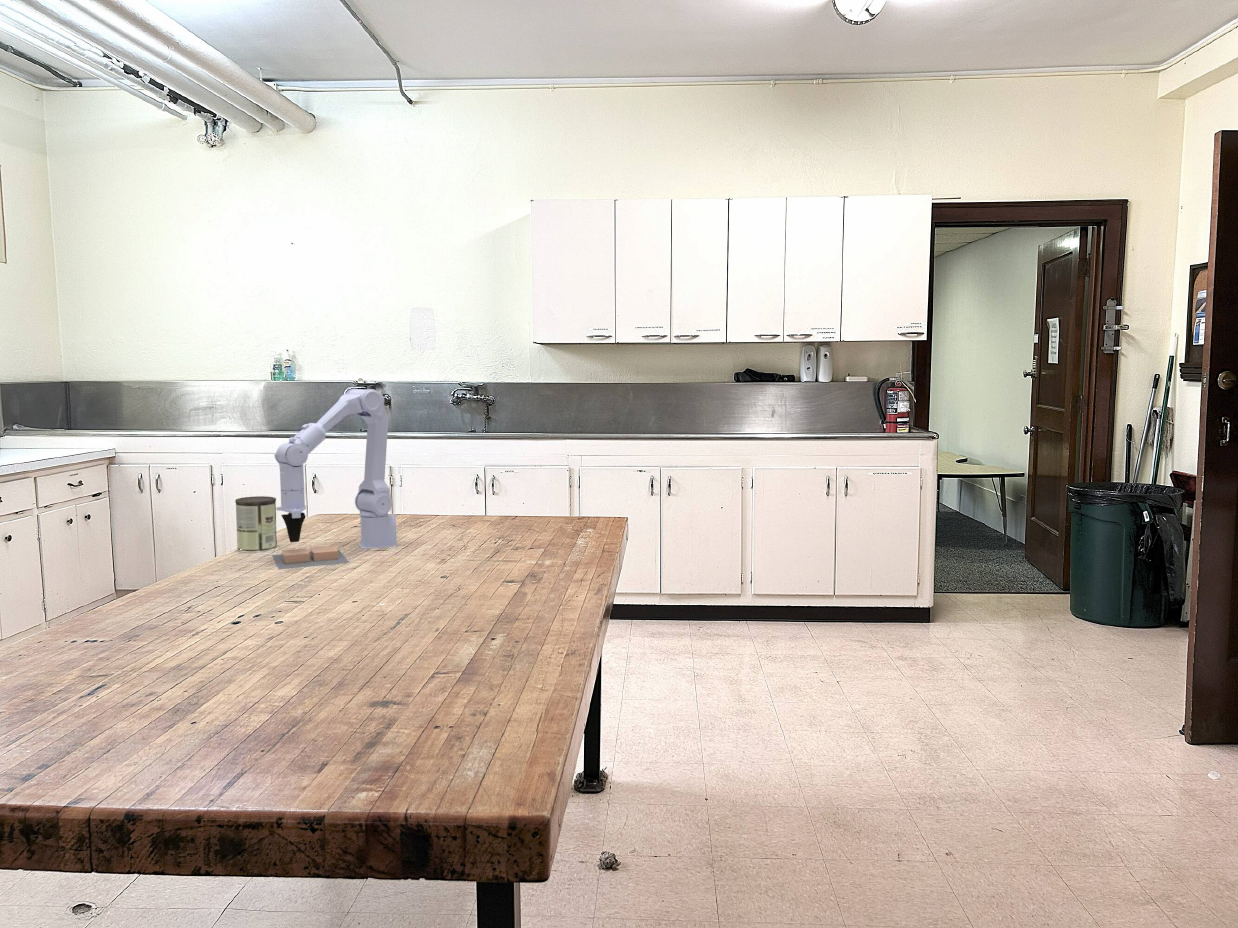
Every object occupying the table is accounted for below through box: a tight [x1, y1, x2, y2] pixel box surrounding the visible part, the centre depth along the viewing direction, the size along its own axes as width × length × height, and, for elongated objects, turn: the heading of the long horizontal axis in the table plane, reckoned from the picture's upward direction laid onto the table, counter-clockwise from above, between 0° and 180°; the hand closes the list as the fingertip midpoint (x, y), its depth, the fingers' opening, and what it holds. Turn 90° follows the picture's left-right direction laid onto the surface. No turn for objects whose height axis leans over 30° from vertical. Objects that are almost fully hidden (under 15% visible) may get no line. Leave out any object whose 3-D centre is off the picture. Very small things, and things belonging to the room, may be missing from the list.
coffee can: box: [234, 495, 278, 554], centre depth 241 cm, size 10×10×14 cm
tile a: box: [309, 545, 339, 561], centre depth 231 cm, size 2×6×7 cm
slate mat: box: [271, 549, 351, 570], centre depth 229 cm, size 17×18×1 cm
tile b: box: [281, 547, 310, 564], centre depth 228 cm, size 2×6×7 cm
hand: (294, 541), depth 229 cm, fingers closed
